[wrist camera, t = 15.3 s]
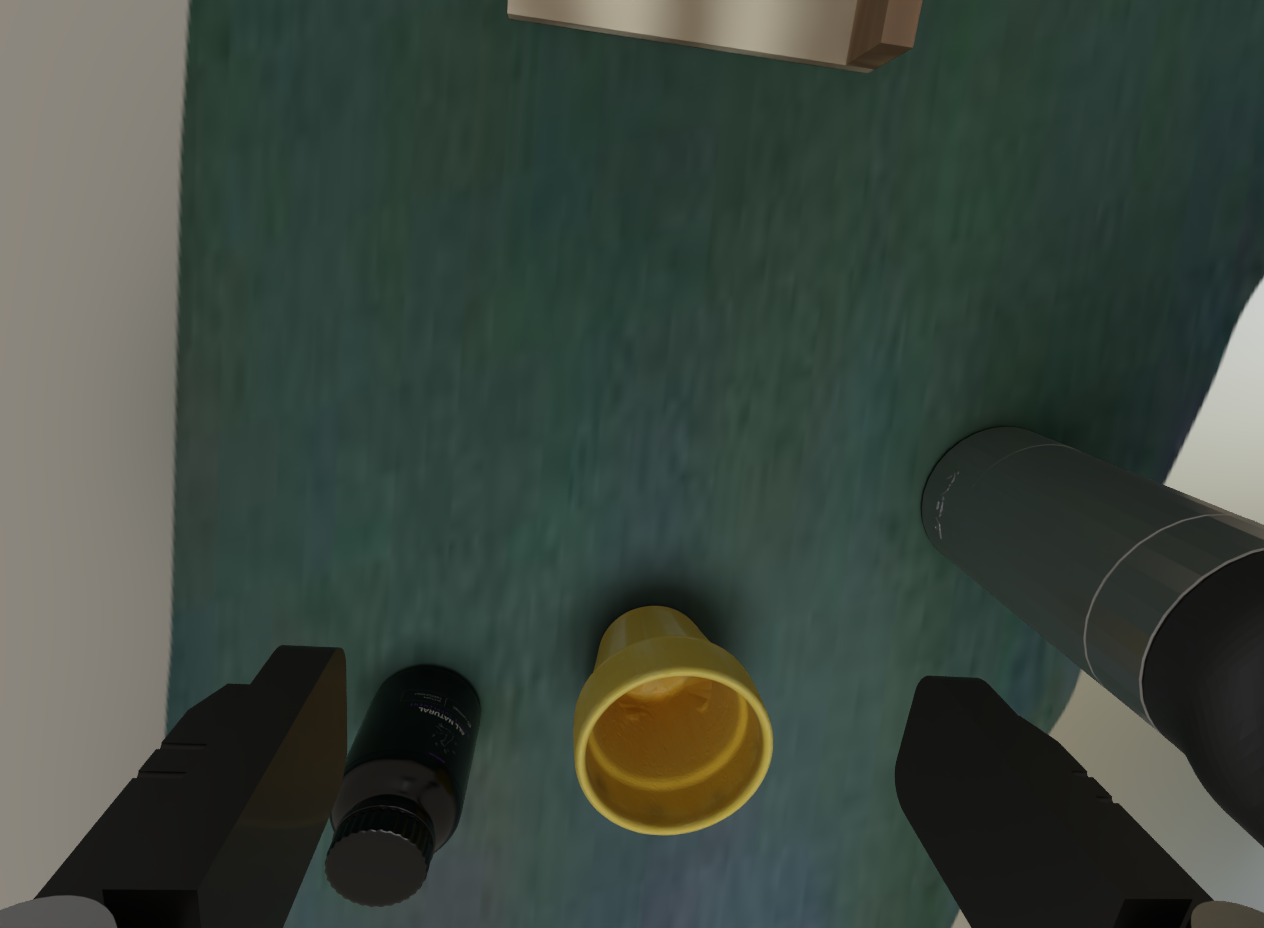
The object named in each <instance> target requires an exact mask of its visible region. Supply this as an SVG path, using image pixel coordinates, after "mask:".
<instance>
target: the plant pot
mask: <svg viewBox="0 0 1264 928" xmlns="http://www.w3.org/2000/svg"><path fill="white" fill-rule="evenodd" d="M573 740H574V759H575V767H576V773H577V777H578V780H579V783H580V786H581V788H582V790H583V792H584V794H585V796H586V797H587V799H588V800H589V801H590V803H591V804H592V805H593V806H594V807H595V808H596V810H597V811H598V812H600V813H601V814H602V815H603V816H604V817H606V818H607V819H609V820H610V821H612V822H613V823H615V824H617V825H619V826H621V827H623V828H626V829H628V830H631V831H635V832H638V833H643V834H652V835H676V834H683V833H689V832H693V831H697V830H700V829H703V828H706V827H709V826H711V825H713V824H715V823H717V822H719V821H721V820H723V819H725V818H727V817H728V816H730V815H731V814H733V813H734V812H735V811H737V810H738V809H739V808H740V807H741V806H743V805H744V804H745V803H746V802H747V801H748V800H749V799H750V798H751V796H752V795H753V794H754V793H755V792H756V790H757V789H758V787H759V786H760V784H761V783H762V781H763V779H764V777H765V775H766V773H767V771H768V768H769V765H770V762H771V758H772V752H773V732H772V726H771V722H770V719H769V716H768V713H767V711H766V709H765V706H764V704H763V702H762V700H761V697H760V695H759V693H758V691H757V689H756V687H755V685H754V683H753V682H752V680H751V678H750V676H749V674H748V673H747V671H746V670H745V668H744V667H743V666H742V665H741V663H740V662H739V661H738V660H737V659H736V658H735V657H734V656H732V655H731V654H730V653H729V652H727V651H726V650H724V649H723V648H721V647H719V646H717V645H715V644H713V643H711V642H710V641H709V640H708V639H707V638H706V637H705V636H704V635H703V633H702V632H701V631H700V630H699V629H698V627H697V626H696V625H695V624H694V623H693V622H692V621H691V620H690V619H689V618H688V617H687V616H686V615H684V614H683V613H681V612H679V611H677V610H674V609H672V608H668V607H664V606H645V607H640V608H636V609H633V610H631V611H628V612H626V613H625V614H623V615H621V616H620V617H619V618H617V619H616V620H615V621H614V622H613V623H612V624H611V625H610V626H609V627H608V629H607V630H606V632H605V633H604V635H603V637H602V640H601V642H600V646H599V650H598V655H597V659H596V664H595V668H594V671H593V673H592V674H591V676H590V677H589V678H588V680H587V681H586V683H585V685H584V687H583V689H582V691H581V693H580V695H579V698H578V701H577V704H576V709H575V715H574V732H573Z"/></svg>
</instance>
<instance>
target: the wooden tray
mask: <svg viewBox="0 0 1264 928" xmlns="http://www.w3.org/2000/svg"><path fill="white" fill-rule="evenodd" d="M922 1H923V0H508V11H507V14H508V18H509V19H514V20H521V21H527V22H534V23H540V24H547V25H554V26H560V27H567V28H573V29H580V30H586V31H593V32H600V33H606V34H613V35H619V36H626V37H632V38H639V39H646V40H652V41H659V42H665V43H672V44H678V45H685V46H691V47H698V48H705V49H711V50H718V51H724V52H731V53H737V54H744V55H751V56H757V57H764V58H770V59H777V60H783V61H790V62H797V63H803V64H810V65H816V66H823V67H829V68H836V69H843V70H849V71H856V72H862V73H869V72H871V71H873V70H874V69H876V68H878V67H880V66H882V65H883V64H885V63H887V62H889V61H890V60H892V59H894V58H896V57H897V56H899V55H901V54H903V53H905V52H906V51H908V50H910V49H912V48H913V45H914V40H915V35H916V30H917V25H918V20H919V16H920V11H921V6H922Z"/></svg>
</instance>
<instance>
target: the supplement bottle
mask: <svg viewBox="0 0 1264 928" xmlns="http://www.w3.org/2000/svg"><path fill="white" fill-rule="evenodd" d="M479 724H480V707H479V703H478V700H477V697H476V695H475V694H474V692H473V690H472V689H471V688H470V687H469V685H468V684H467V683H466V682H464V681H463V680H462V679H461V678H459V677H458V676H456V675H454V674H452V673H450V672H448V671H445V670H442V669H438V668H430V667H421V668H413V669H409V670H406V671H403V672H401V673H398V674H396V675H395V676H393V677H392V678H390V679H389V680H388V681H386V682H385V683H384V684H383V685H382V686H381V688H380V689H379V690H378V692H377V693H376V695H375V697H374V699H373V701H372V703H371V705H370V707H369V709H368V711H367V714H366V716H365V718H364V720H363V722H362V725H361V727H360V729H359V731H358V733H357V736H356V738H355V740H354V742H353V744H352V747H351V749H350V751H349V753H348V755H347V758H346V764H345V770H344V775H343V780H342V784H341V787H340V791H339V794H338V797H337V799H336V802H335V804H334V807H333V809H332V811H331V814H330V816H329V818H330V822H331V825H332V828H333V831H334V835H333V839H332V843H331V845H330V848H329V850H328V852H327V858H326V861H325V867H326V869H325V873H326V874H327V880H328V881H329V882H330V883H331V887H333V888H334V889H335V890H336V892H337V893H338V894H341V895H342V896H343V897H344V898H345V899H349V900H350V901H351V902H353V903H358V904H360V905H367V906H370V907H374V906H379V907H383V906H386V905H387V906H391V905H393V904H395V903H400V902H402V901H403V900H406V899H409V897H410V896H411V895H414V894H415V893H416V891H417V890H418V889H420V888H421V886H422V883H423V882H424V881H425V879H426V876H427V872H428V869H429V865H430V861H431V860H432V857H433V854H434V853H435V852H437V851H438V850H439V849H440V848H441V847H442V846H443V845H444V844H445V843H446V842H447V841H448V840H449V839H450V838H451V836H452V835H453V833H454V832H455V830H456V828H457V826H458V823H459V820H460V816H461V813H462V808H463V804H464V799H465V794H466V789H467V784H468V779H469V774H470V769H471V765H472V760H473V755H474V750H475V745H476V740H477V735H478V730H479Z"/></svg>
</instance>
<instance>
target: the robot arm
mask: <svg viewBox="0 0 1264 928" xmlns="http://www.w3.org/2000/svg"><path fill="white" fill-rule="evenodd" d="M922 519H923V524H924V527H925V530H926V533H927V536H928V537H929V539H930V540H931V542H932V543H933V545H934V546H935V547H936V548H937V549H938V550H939V551H940V552H941V553H942V554H943V555H944V556H946V557H947V558H948V559H949V560H951V561H952V562H953V563H954V564H955V565H957V566H958V567H959V568H960V569H961V570H963V571H964V572H965V573H966V574H968V575H969V576H970V577H971V578H972V579H973V580H974V581H976V582H977V583H978V584H979V585H980V586H982V587H983V588H984V589H985V590H986V591H988V592H989V593H990V594H991V595H993V596H994V597H995V598H996V599H997V600H999V601H1000V602H1001V603H1002V604H1003V605H1005V606H1006V607H1007V608H1008V609H1009V610H1011V611H1012V612H1013V613H1014V614H1016V615H1017V616H1018V617H1019V618H1020V619H1022V620H1023V621H1024V622H1025V623H1026V624H1028V625H1029V626H1030V627H1031V628H1033V629H1034V630H1035V631H1036V632H1037V633H1039V634H1040V635H1041V636H1042V637H1043V638H1045V639H1046V640H1047V641H1048V642H1050V643H1051V644H1052V645H1053V646H1054V647H1056V648H1057V649H1058V650H1059V651H1060V652H1062V653H1063V654H1064V655H1065V656H1066V657H1068V658H1069V659H1070V660H1071V661H1073V662H1074V663H1075V664H1076V665H1077V666H1079V667H1080V668H1081V669H1082V670H1083V671H1085V672H1086V673H1087V674H1088V675H1090V676H1091V677H1092V678H1093V679H1094V680H1096V681H1097V682H1098V683H1099V684H1100V685H1102V686H1103V687H1104V688H1106V689H1107V690H1108V691H1110V692H1111V693H1112V694H1113V695H1114V696H1116V697H1117V698H1118V699H1119V700H1120V701H1122V702H1123V703H1124V704H1125V705H1127V706H1128V707H1129V708H1130V709H1131V710H1133V711H1134V712H1135V713H1136V714H1137V715H1139V716H1140V717H1141V718H1142V719H1143V720H1145V721H1146V722H1147V723H1148V724H1149V725H1151V726H1152V727H1153V728H1155V729H1156V730H1157V731H1158V732H1159V733H1161V734H1162V735H1163V736H1164V737H1165V738H1166V739H1168V740H1169V741H1170V742H1171V743H1173V744H1174V745H1175V746H1176V747H1177V748H1178V749H1179V750H1180V751H1182V752H1183V753H1184V754H1185V755H1186V757H1187V759H1188V761H1189V763H1190V765H1191V766H1192V768H1193V770H1194V772H1195V774H1196V775H1197V777H1198V779H1199V780H1200V782H1201V783H1202V785H1203V786H1204V788H1205V789H1206V791H1207V792H1208V793H1209V794H1210V795H1211V797H1212V798H1213V799H1214V800H1215V801H1216V802H1217V804H1218V805H1219V806H1221V808H1222V809H1223V810H1224V811H1225V812H1226V813H1227V814H1228V815H1229V816H1230V817H1232V818H1233V819H1234V820H1235V821H1236V822H1237V823H1238V824H1239V825H1240V826H1241V827H1242V828H1243V829H1244V830H1246V831H1247V832H1248V833H1249V834H1250V835H1251V836H1252V837H1253V838H1254V839H1255V840H1256V841H1258V843H1260V844H1261V845H1262V846H1263V847H1264V525H1262V524H1260V523H1258V522H1255V521H1253V520H1250V519H1247V518H1244V517H1242V516H1239V515H1237V514H1234V513H1232V512H1229V511H1227V510H1224V509H1222V508H1219V507H1217V506H1215V505H1212V504H1209V503H1207V502H1204V501H1202V500H1200V499H1197V498H1195V497H1192V496H1190V495H1187V494H1185V493H1182V492H1180V491H1177V490H1175V489H1172V488H1170V487H1167V486H1165V485H1163V484H1160V483H1158V482H1155V481H1153V480H1150V479H1148V478H1145V477H1143V476H1140V475H1138V474H1135V473H1133V472H1130V471H1128V470H1125V469H1123V468H1120V467H1118V466H1116V465H1113V464H1111V463H1108V462H1106V461H1103V460H1101V459H1098V458H1096V457H1093V456H1091V455H1088V454H1086V453H1083V452H1081V451H1079V450H1077V449H1074V448H1072V447H1069V446H1067V445H1064V444H1062V443H1059V442H1057V441H1054V440H1052V439H1049V438H1047V437H1044V436H1042V435H1039V434H1037V433H1034V432H1032V431H1029V430H1026V429H1023V428H1017V427H1007V426H1006V427H998V428H990V429H987V430H984V431H981V432H978V433H975V434H973V435H972V436H970V437H968V438H966V439H964V440H962V441H961V442H960V443H958V444H957V445H956V446H955V447H953V448H952V449H951V450H950V451H948V452H947V454H946V455H945V456H944V457H943V458H942V459H941V461H940V462H939V463H938V464H937V466H936V467H935V469H934V471H933V472H932V474H931V476H930V477H929V480H928V482H927V485H926V488H925V491H924V494H923V501H922ZM346 756H347V696H346V659H345V654H344V651H343V649H342V648H335V647H312V646H290V645H281V646H279V647H278V648H277V649H276V650H275V651H274V652H273V654H272V655H271V656H270V658H269V659H268V661H267V662H266V663H265V665H264V666H263V667H262V669H261V670H260V672H259V673H258V674H257V676H256V677H255V679H254V680H253V681H252V683H251V684H227V685H225V686H224V687H222V688H221V689H219V690H218V691H216V692H215V693H213V694H212V695H210V696H209V697H207V698H206V699H204V700H203V701H201V702H200V703H198V704H196V705H195V706H193V707H192V708H190V709H189V710H188V711H187V712H186V713H185V715H184V716H183V717H182V718H181V719H180V721H179V722H178V723H177V724H176V726H175V727H174V728H173V729H172V730H171V732H170V733H169V734H168V735H167V737H166V738H165V739H164V740H163V741H162V744H161V748H160V749H156V750H155V751H154V753H153V754H152V755H151V756H150V757H149V759H148V760H147V761H146V762H145V763H144V765H143V766H142V767H141V769H140V770H139V773H138V776H137V778H132V780H131V781H130V782H129V783H128V784H127V786H126V787H125V788H124V789H123V790H122V792H121V793H120V794H119V795H118V797H117V798H116V799H115V800H114V802H113V803H112V804H111V805H110V806H109V808H108V809H107V810H106V811H105V812H104V814H103V815H102V816H101V817H100V819H99V820H98V821H97V822H96V823H95V825H94V826H93V827H92V829H91V830H90V831H89V832H88V833H87V835H86V836H85V837H84V838H83V839H82V841H81V842H80V843H79V844H78V846H77V847H76V848H75V849H74V851H73V852H72V853H71V854H70V856H69V857H68V858H67V859H66V860H65V861H64V863H63V864H62V865H61V866H60V868H59V869H58V870H57V871H56V872H55V874H54V875H53V876H52V877H51V879H50V880H49V881H48V882H47V884H46V885H45V886H44V887H43V888H42V890H41V891H40V892H39V893H38V895H37V896H36V897H35V898H34V899H33V900H30V901H26V902H22V903H19V904H16V905H13V906H10V907H8V908H5V909H2V910H0V928H283V926H284V924H285V921H286V919H287V916H288V914H289V912H290V909H291V907H292V904H293V902H294V900H295V897H296V895H297V893H298V890H299V888H300V885H301V883H302V881H303V878H304V876H305V873H306V871H307V869H308V866H309V864H310V861H311V859H312V857H313V854H314V852H315V850H316V847H317V845H318V842H319V840H320V838H321V835H322V833H323V830H324V828H325V826H326V823H327V821H328V818H329V816H330V814H331V811H332V809H333V807H334V804H335V802H336V799H337V797H338V794H339V791H340V787H341V784H342V780H343V775H344V770H345V764H346ZM895 785H896V792H897V796H898V800H899V803H900V805H901V808H902V810H903V812H904V814H905V816H906V817H907V819H908V821H909V822H910V824H911V826H912V827H913V829H914V831H915V833H916V834H917V836H918V838H919V839H920V841H921V843H922V844H923V846H924V848H925V850H926V851H927V853H928V855H929V856H930V858H931V860H932V861H933V863H934V865H935V867H936V868H937V870H938V872H939V873H940V875H941V877H942V878H943V880H944V882H945V884H946V885H947V887H948V889H949V890H950V892H951V894H952V895H953V897H954V899H955V901H956V902H957V904H958V906H959V907H960V909H961V911H962V912H963V914H964V916H965V918H966V919H967V921H968V922H969V924H970V926H971V928H1264V913H1263V912H1260V911H1258V910H1255V909H1253V908H1250V907H1247V906H1244V905H1240V904H1237V903H1231V902H1226V901H1214V900H1213V899H1212V898H1211V897H1210V896H1209V895H1208V894H1207V893H1206V892H1205V891H1204V890H1203V889H1202V888H1201V887H1200V886H1199V885H1198V884H1197V883H1196V882H1195V881H1194V880H1193V879H1192V878H1191V877H1190V876H1189V875H1188V874H1187V873H1186V872H1185V871H1184V869H1182V867H1181V866H1179V864H1178V863H1177V862H1176V861H1175V860H1174V859H1172V857H1171V856H1170V855H1169V854H1168V853H1167V852H1166V851H1165V850H1164V849H1163V848H1162V847H1161V846H1160V845H1159V844H1158V843H1157V842H1156V841H1155V840H1154V839H1153V838H1152V837H1151V836H1150V835H1149V834H1148V833H1147V832H1146V831H1145V830H1144V829H1143V828H1142V827H1141V826H1140V825H1139V824H1138V823H1137V822H1136V821H1135V820H1134V819H1133V818H1132V817H1131V816H1130V814H1128V812H1126V810H1125V809H1124V808H1123V807H1122V806H1121V805H1119V804H1118V803H1113V801H1112V796H1111V795H1110V794H1109V793H1108V792H1107V791H1106V790H1105V789H1104V788H1103V787H1102V786H1101V785H1100V784H1099V783H1098V782H1097V781H1096V780H1095V779H1094V778H1093V777H1088V776H1087V771H1086V770H1085V769H1084V768H1083V767H1082V766H1081V765H1080V764H1079V763H1078V762H1077V761H1076V760H1075V758H1074V757H1073V756H1071V754H1070V753H1068V751H1067V750H1066V749H1065V748H1064V747H1063V746H1062V745H1061V744H1060V743H1059V742H1058V741H1056V740H1055V739H1053V738H1052V737H1050V736H1049V735H1047V734H1046V733H1044V732H1043V731H1041V730H1040V729H1038V728H1037V727H1036V726H1034V725H1033V724H1031V723H1030V722H1028V721H1027V720H1025V719H1024V718H1022V717H1021V716H1018V715H1017V714H1016V713H1015V712H1014V711H1013V710H1012V709H1011V707H1010V706H1009V705H1008V704H1007V703H1006V702H1005V701H1004V700H1003V699H1002V698H1001V697H1000V696H999V695H998V694H997V693H996V692H995V691H994V690H993V689H992V688H991V686H990V685H989V684H987V683H986V682H985V681H984V680H982V679H979V678H968V677H946V676H926V677H924V678H923V679H921V681H920V682H919V683H918V685H917V688H916V691H915V694H914V698H913V701H912V705H911V709H910V713H909V716H908V720H907V724H906V727H905V731H904V735H903V738H902V742H901V746H900V750H899V753H898V757H897V761H896V766H895Z"/></svg>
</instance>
